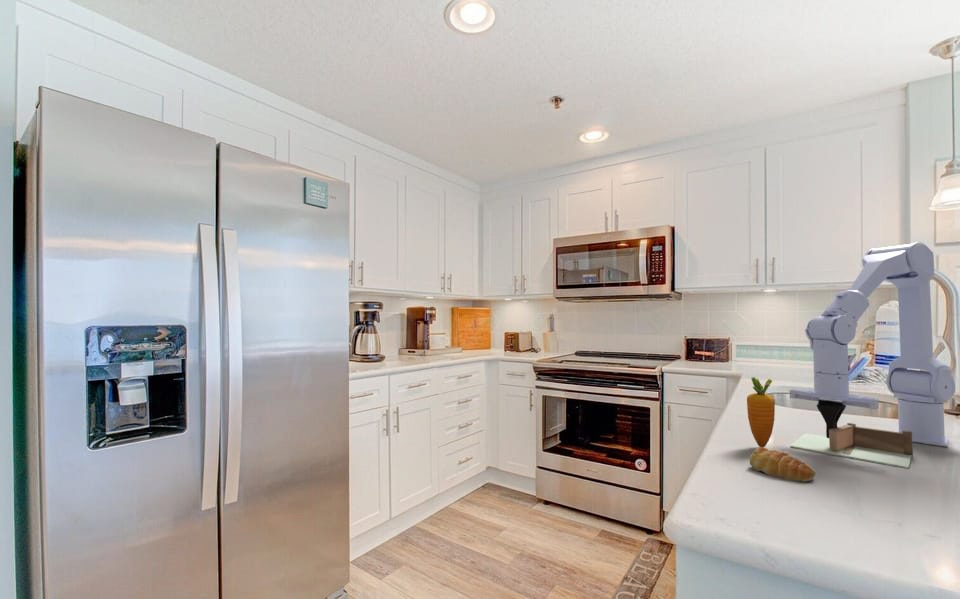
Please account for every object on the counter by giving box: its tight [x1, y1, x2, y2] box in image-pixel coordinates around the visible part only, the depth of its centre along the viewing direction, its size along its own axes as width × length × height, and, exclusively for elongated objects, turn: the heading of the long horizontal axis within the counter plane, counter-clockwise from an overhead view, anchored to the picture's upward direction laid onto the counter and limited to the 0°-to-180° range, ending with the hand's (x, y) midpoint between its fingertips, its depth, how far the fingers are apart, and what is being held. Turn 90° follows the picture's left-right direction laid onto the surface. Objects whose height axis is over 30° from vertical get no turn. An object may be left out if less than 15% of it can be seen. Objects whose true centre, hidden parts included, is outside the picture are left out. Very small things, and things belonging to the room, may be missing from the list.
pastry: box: [749, 446, 816, 483], centre depth 78 cm, size 9×7×4 cm
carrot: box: [746, 376, 776, 448], centre depth 92 cm, size 5×5×15 cm
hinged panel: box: [829, 424, 853, 451], centre depth 90 cm, size 1×8×4 cm, turn 120°
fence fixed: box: [846, 422, 914, 456], centre depth 90 cm, size 1×10×4 cm, turn 43°
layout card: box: [789, 432, 913, 470], centre depth 91 cm, size 14×18×1 cm
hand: (832, 437), depth 91 cm, fingers closed, pressing on hinged panel
